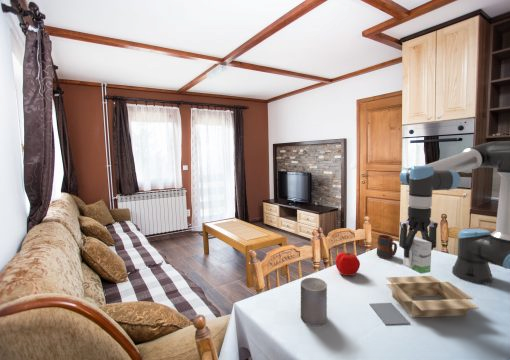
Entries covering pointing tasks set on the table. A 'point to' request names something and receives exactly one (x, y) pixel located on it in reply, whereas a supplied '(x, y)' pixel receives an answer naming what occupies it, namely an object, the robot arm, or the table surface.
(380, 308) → the mat
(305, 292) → the pillar candle
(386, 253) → the mug
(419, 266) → the ink box
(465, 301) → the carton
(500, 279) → the table surface
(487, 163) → the robot arm
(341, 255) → the tomato
